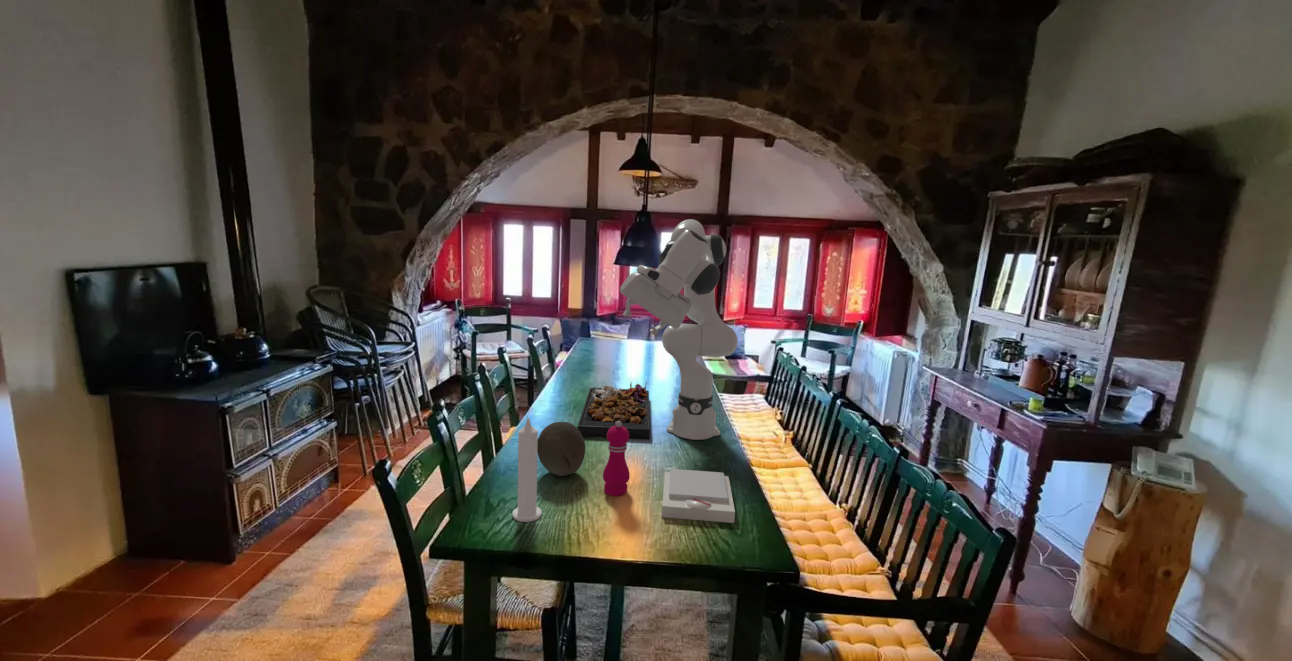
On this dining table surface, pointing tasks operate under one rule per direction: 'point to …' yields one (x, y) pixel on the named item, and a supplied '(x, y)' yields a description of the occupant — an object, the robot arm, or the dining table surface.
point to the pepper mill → (616, 461)
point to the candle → (527, 475)
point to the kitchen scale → (697, 496)
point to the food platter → (616, 412)
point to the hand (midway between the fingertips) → (638, 325)
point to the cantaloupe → (561, 448)
